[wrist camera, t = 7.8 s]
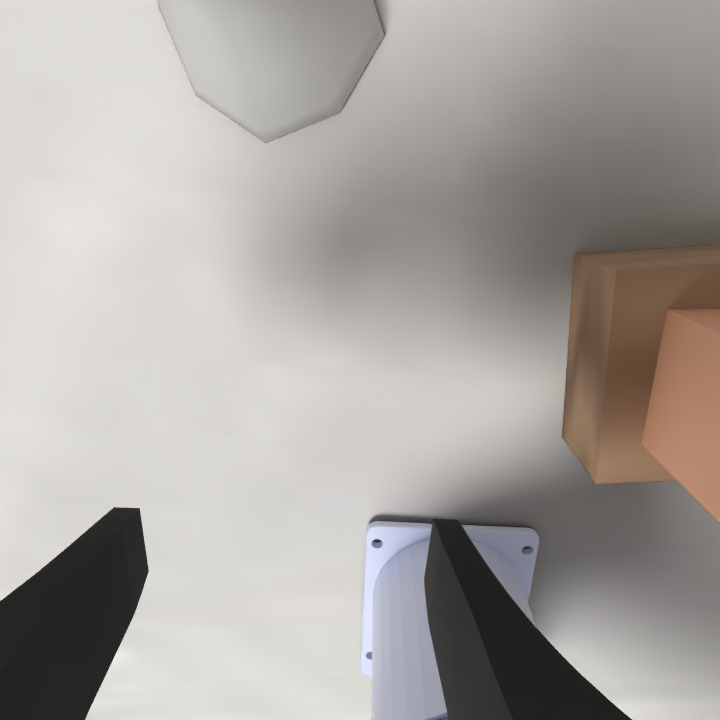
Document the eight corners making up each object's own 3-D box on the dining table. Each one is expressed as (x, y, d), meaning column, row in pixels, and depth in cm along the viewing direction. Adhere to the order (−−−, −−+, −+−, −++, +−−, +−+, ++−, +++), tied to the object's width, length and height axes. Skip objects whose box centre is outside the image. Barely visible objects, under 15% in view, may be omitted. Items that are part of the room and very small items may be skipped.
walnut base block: (744, 424, 23) (818, 473, 19) (559, 433, 23) (595, 484, 19) (781, 238, 20) (876, 253, 16) (571, 252, 20) (615, 269, 17)
